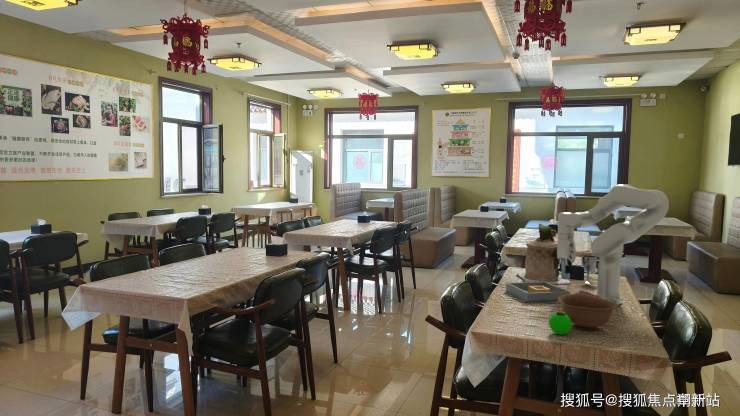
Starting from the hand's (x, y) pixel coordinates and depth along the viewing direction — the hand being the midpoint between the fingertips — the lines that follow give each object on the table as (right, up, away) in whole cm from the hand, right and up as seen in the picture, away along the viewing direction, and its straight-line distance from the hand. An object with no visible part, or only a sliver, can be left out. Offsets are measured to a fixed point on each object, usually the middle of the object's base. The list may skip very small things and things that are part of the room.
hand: (565, 272), depth 254 cm
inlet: (-15, -11, -4) cm, 19 cm away
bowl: (-14, -15, -57) cm, 60 cm away
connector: (0, -3, 0) cm, 3 cm away
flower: (-5, -13, -36) cm, 39 cm away
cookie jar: (-1, -9, +32) cm, 33 cm away
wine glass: (+22, -9, +25) cm, 35 cm away
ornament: (-28, -15, -65) cm, 73 cm away
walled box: (-17, -11, -8) cm, 22 cm away
